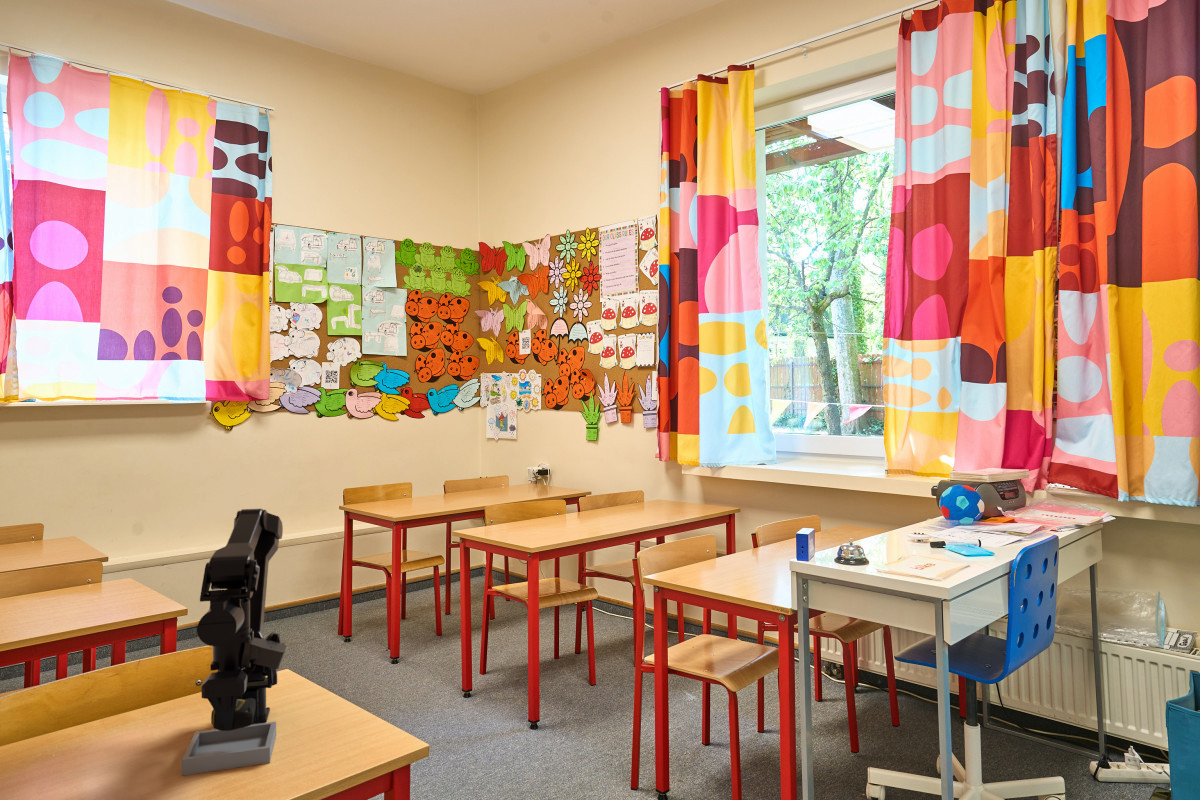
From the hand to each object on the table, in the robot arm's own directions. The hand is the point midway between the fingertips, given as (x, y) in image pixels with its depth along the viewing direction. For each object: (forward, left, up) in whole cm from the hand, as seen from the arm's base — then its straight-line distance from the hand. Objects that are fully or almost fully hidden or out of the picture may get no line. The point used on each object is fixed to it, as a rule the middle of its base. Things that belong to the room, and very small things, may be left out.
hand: (231, 719), depth 127 cm
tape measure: (0, +1, -1) cm, 2 cm away
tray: (0, 0, -6) cm, 6 cm away
